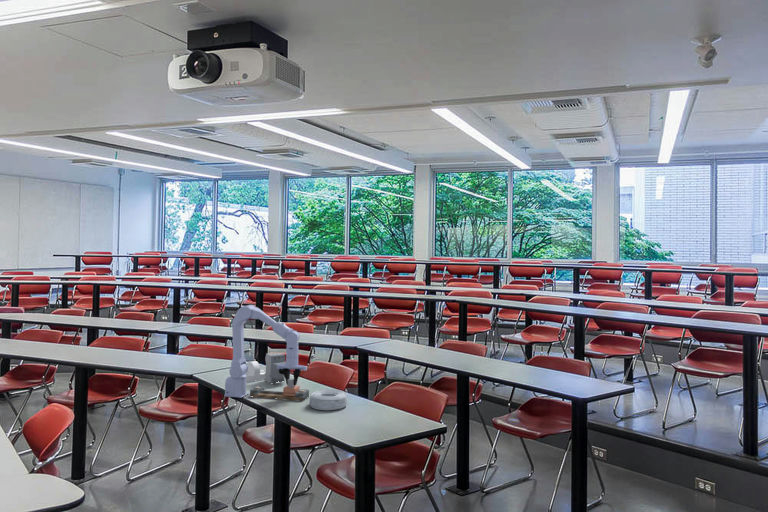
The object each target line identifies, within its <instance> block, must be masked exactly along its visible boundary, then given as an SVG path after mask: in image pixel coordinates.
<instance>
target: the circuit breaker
mask: <svg viewBox="0 0 768 512" xmlns="http://www.w3.org/2000/svg"><path fill="white" fill-rule="evenodd" d="M264 362H265V372H266V373H265V380H266V381H267V382H270V383H276V382H278V381H279V382H282V381H284V382H286V379H285V376H284V374H283V372H282V371H283V369H277V365H278V364H286V354H284V353H281V352H272V353H265V357H264ZM265 380H264V381H265ZM266 381H265V382H266ZM267 382H266V383H267ZM270 383H269V384H270Z"/></svg>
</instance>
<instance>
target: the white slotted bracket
mask: <svg viewBox="0 0 768 512" xmlns="http://www.w3.org/2000/svg"><path fill="white" fill-rule="evenodd" d="M246 364H247V365H248V371H247V372H246V382H248V383H251V382H250V381H255V380H261V381H263V380H262V379H265V373H266V370H264V369H261V366H260V364H259V362H258V361H256V360H253V361H248V362H246ZM255 382H256V381H255Z"/></svg>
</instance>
